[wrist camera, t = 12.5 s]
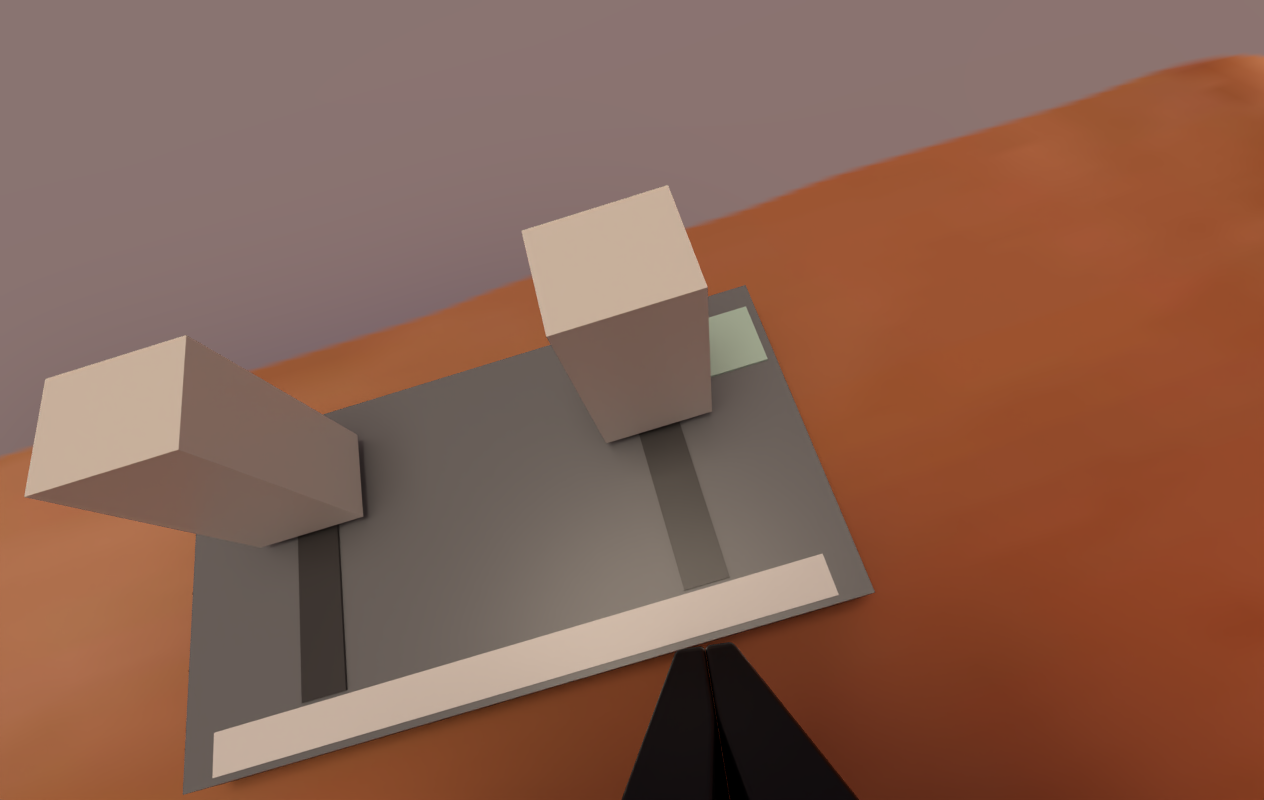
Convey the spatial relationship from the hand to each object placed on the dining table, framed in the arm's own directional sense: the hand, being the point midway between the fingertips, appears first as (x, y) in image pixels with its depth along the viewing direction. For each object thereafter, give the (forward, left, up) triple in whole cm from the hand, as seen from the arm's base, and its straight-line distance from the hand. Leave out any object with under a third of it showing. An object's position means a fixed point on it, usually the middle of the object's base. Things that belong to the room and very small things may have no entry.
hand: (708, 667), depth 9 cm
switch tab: (+14, -3, -8) cm, 17 cm away
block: (+3, -8, -8) cm, 12 cm away
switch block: (+8, -3, -11) cm, 13 cm away
